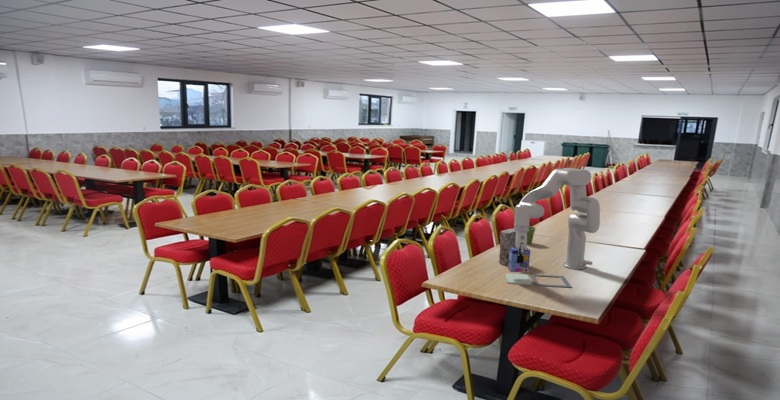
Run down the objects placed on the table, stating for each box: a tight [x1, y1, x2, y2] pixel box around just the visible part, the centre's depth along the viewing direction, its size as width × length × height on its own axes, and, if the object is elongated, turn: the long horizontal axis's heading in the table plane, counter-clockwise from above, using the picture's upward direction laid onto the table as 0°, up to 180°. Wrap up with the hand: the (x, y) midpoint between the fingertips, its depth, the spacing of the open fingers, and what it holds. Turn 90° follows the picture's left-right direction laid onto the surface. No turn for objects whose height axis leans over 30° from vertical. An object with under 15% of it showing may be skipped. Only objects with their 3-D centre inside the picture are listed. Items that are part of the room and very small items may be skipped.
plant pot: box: [527, 225, 537, 245], centre depth 330 cm, size 12×12×11 cm
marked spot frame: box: [529, 273, 573, 289], centre depth 253 cm, size 18×18×1 cm
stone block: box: [498, 228, 516, 266], centre depth 282 cm, size 13×7×20 cm, turn 135°
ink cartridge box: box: [507, 247, 531, 273], centre depth 252 cm, size 10×6×14 cm, turn 95°
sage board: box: [504, 273, 533, 286], centre depth 253 cm, size 12×14×1 cm
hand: (519, 260), depth 252 cm, fingers closed on ink cartridge box, 6 cm apart
